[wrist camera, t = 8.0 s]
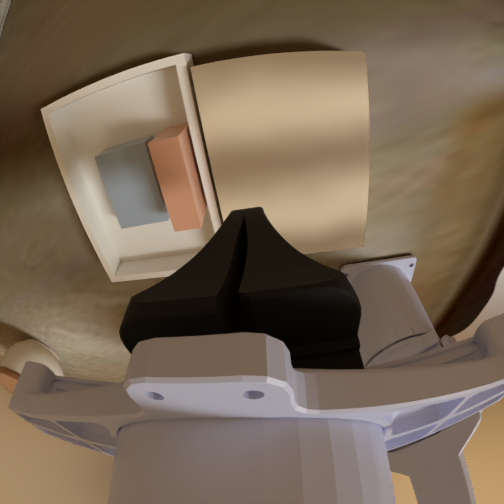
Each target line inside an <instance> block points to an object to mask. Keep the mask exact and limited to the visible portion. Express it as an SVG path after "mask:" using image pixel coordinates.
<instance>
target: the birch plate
mask: <svg viewBox="0 0 504 504" xmlns="http://www.w3.org/2000/svg"><path fill="white" fill-rule="evenodd" d="M190 68H191V73H192V78H193V83H194V88H195V93H196V98H197V103H198V108H199V113H200V117H201V122H202V127H203V132H204V136H205V141H206V146H207V150H208V155H209V160H210V164H211V169H212V173H213V178H214V182H215V187H216V191H217V196H218V200H219V204H220V209H221V213H222V217H223V222H224V221H225V219H226V218H227V216H228V215H229V214H230V212H231V211H232V210H239V209H246V208H253V207H262V208H263V210H264V213H265V215H266V217H267V218H268V220H269V221H270V223H271V224H272V225H273V227H274V228H275V229H276V230H277V232H278V233H279V234H280V235H281V236H282V237H283V238H284V239H285V240H286V241H287V242H288V243H289V244H290V245H292V246H293V247H294V248H295V249H296V250H298V251H299V252H300V253H302V254H311V253H318V252H326V251H334V250H342V249H350V248H357V247H364V242H365V232H366V220H367V205H368V187H369V148H370V137H369V99H368V81H367V68H366V57H365V52H359V51H303V52H286V53H274V54H264V55H256V56H248V57H241V58H234V59H228V60H223V61H217V62H212V63H207V64H202V65H197V66H193V67H190Z"/></svg>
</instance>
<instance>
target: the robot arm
mask: <svg viewBox="0 0 504 504" xmlns="http://www.w3.org/2000/svg"><path fill="white" fill-rule="evenodd" d="M416 260H417V259H416V257H415V256H414V255H410V256H403V257H397V258H390V259H383V260H377V261H370V262H363V263H355V264H348V265H344V266H342V267H341V270H340V271H338V270H335V269H332V268H330V267H327V266H324V265H322V264H320V263H318V262H316V261H314V260H312V259H310V258H308V257H307V256H305V255H304V254H302V253H300V252H299V251H298V250H296V249H295V248H294V247H293V246H292V245H290V244H289V243H288V242H287V241H286V240H285V239H284V238H283V237H282V236H281V235H280V234H279V233H278V232H277V230H276V229H275V228H274V227H273V225H272V224H271V223H270V221H269V220H268V218H267V217H266V215H265V213H264V210H263V208H262V207H253V208H246V209H239V210H232V211H231V212H230V214H229V215H228V216H227V218H226V219H225V221H224V222H223V224H222V225H221V226H220V228H219V229H218V230H217V232H216V233H215V234H214V236H213V237H212V238H211V239H210V240H209V242H208V243H207V244H206V245H205V246H204V247H203V248H202V249H201V250H200V251H199V252H198V253H197V254H196V255H195V256H194V257H193V258H192V259H191V260H190V261H188V262H187V263H186V264H185V265H183V266H182V267H181V268H180V269H178V270H177V271H176V272H174V273H173V274H171V275H170V276H169V277H167V278H166V279H164V280H162V281H161V282H159V283H157V284H156V285H154V286H152V287H150V288H148V289H146V290H144V291H142V292H140V293H139V294H137V295H134V296H132V298H131V300H130V303H129V305H128V307H127V310H126V313H125V316H124V318H123V321H122V324H121V327H120V331H119V333H120V338H121V340H122V342H123V343H124V345H125V347H126V348H127V349H128V351H129V352H130V353H131V354H132V355H131V358H130V362H129V365H128V369H127V373H126V376H125V380H124V382H121V383H114V382H104V381H94V380H85V379H78V378H70V377H64V376H57V375H55V373H54V372H53V371H52V370H51V369H50V368H49V367H47V366H46V365H44V364H42V363H37V362H31V361H26V363H25V365H24V368H23V370H22V372H21V375H20V377H19V379H18V382H17V384H16V387H15V390H14V392H13V395H12V398H11V400H10V403H9V409H11V410H12V411H13V412H15V413H16V414H17V415H19V416H20V417H21V418H23V419H24V420H26V421H27V422H28V423H30V424H32V425H33V426H34V427H36V428H37V429H39V430H41V431H42V432H44V433H45V434H47V435H50V436H53V437H55V438H58V439H61V440H64V441H67V442H70V443H72V444H75V445H78V446H81V447H84V448H87V449H90V450H93V451H96V452H100V453H103V454H106V455H110V456H113V457H114V462H113V468H112V474H111V480H110V488H109V495H108V502H107V504H396V503H395V496H394V489H393V484H392V477H391V471H392V472H396V473H400V474H404V475H407V476H409V477H410V479H411V482H412V485H413V488H414V492H415V495H416V498H417V502H418V504H476V502H475V497H474V493H473V488H472V484H471V480H470V476H469V473H468V469H467V466H466V462H465V458H464V455H463V452H462V450H463V448H464V447H465V446H466V444H467V442H468V441H469V440H470V438H471V436H472V435H473V433H474V432H475V430H476V428H477V427H478V425H479V423H480V421H481V419H482V416H481V413H482V411H483V409H484V408H486V407H488V406H490V405H492V404H494V403H496V402H497V401H499V400H500V399H502V398H503V397H504V314H501V315H499V316H496V317H493V318H491V319H488V320H486V321H484V322H483V323H482V324H481V325H480V326H479V327H478V329H477V330H476V332H475V335H474V337H472V338H468V339H466V340H463V341H460V342H456V340H455V338H454V337H449V336H448V335H445V336H444V337H442V338H441V340H442V342H441V340H440V338H439V337H438V335H437V333H436V332H435V330H434V328H433V325H432V323H431V321H430V319H429V317H428V315H427V313H426V311H425V309H424V307H423V305H422V303H421V302H420V300H419V298H418V296H417V294H416V292H415V290H414V288H413V287H412V285H411V279H412V276H413V272H414V268H415V264H416ZM411 263H412V264H411ZM346 273H347V274H346ZM345 274H346V275H345Z"/></svg>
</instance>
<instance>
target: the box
mask: <svg viewBox="0 0 504 504" xmlns="http://www.w3.org/2000/svg"><path fill="white" fill-rule="evenodd" d="M193 66H194V63H193V58H192V54H187V53H182V54H178V55H174V56H170V57H167V58H163V59H160V60H156V61H153V62H150V63H147V64H143V65H140V66H137V67H134V68H131V69H129V70H126V71H123V72H120V73H118V74H115V75H112V76H110V77H107V78H105V79H102V80H100V81H98V82H95V83H93V84H90V85H88V86H86V87H84V88H82V89H79V90H77V91H75V92H73V93H71V94H69V95H67V96H65V97H63V98H61V99H59V100H57V101H55V102H53V103H51V104H49V105H47V106H46V107H44V108H42V109H41V113H42V116H43V120H44V123H45V127H46V130H47V133H48V137H49V140H50V143H51V146H52V149H53V152H54V155H55V158H56V161H57V163H58V166H59V169H60V172H61V174H62V177H63V179H64V182H65V185H66V187H67V190H68V192H69V194H70V197H71V199H72V202H73V204H74V206H75V209H76V211H77V213H78V216H79V218H80V220H81V222H82V224H83V227H84V229H85V231H86V233H87V235H88V237H89V239H90V241H91V243H92V245H93V247H94V249H95V251H96V253H97V255H98V257H99V259H100V261H101V263H102V265H103V267H104V269H105V271H106V272H107V274H108V276H109V278H110V280H111V282H120V281H130V280H139V279H149V278H158V277H168V276H170V275H171V274H173V273H174V272H176V271H177V270H178V269H180V268H181V267H182V266H183V265H185V264H186V263H187V262H188V261H190V260H191V259H192V258H193V257H194V256H195V255H196V254H197V253H198V252H199V251H200V250H201V249H202V248H203V247H204V246H205V245H206V244H207V243H208V242H209V240H210V239H211V238H212V237H213V236H214V234H215V233H216V232H217V230H218V229H219V228H220V226H221V225H222V224H223V217H222V213H221V209H220V204H219V200H218V196H217V191H216V187H215V182H214V178H213V173H212V169H211V164H210V160H209V155H208V150H207V146H206V141H205V136H204V132H203V127H202V122H201V117H200V113H199V108H198V103H197V98H196V93H195V88H194V83H193V78H192V73H191V68H190V67H193ZM184 123H188V124H189V129H190V133H191V138H192V142H193V146H194V151H195V155H196V159H197V163H198V168H199V172H200V176H201V180H202V184H203V188H204V192H205V197H206V201H207V208H206V211H205V215H204V219H203V223H202V227H201V228H197V229H190V230H183V231H177V232H175V231H174V228H173V225H172V222H171V219H170V218H169V220H168V221H163V222H157V223H151V224H145V225H140V226H134V227H129V228H123V229H121V227H120V224H119V222H118V219H117V217H116V214H115V212H114V210H113V207H112V204H111V202H110V199H109V197H108V194H107V191H106V189H105V186H104V183H103V181H102V178H101V175H100V172H99V169H98V167H97V164H96V161H95V158H94V157H95V156H97V155H98V154H99V153H100V152H102V151H103V150H104V149H107V148H110V147H113V146H116V145H120V144H123V143H126V142H130V141H133V140H137V139H140V138H144V137H148V136H152V135H153V138H155V137H156V136H157V135H158V134H159V133H160V132H162V131H163V130H164V129H165V128H167V127H171V126H176V125H180V124H184Z"/></svg>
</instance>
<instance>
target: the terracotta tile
mask: <svg viewBox="0 0 504 504" xmlns="http://www.w3.org/2000/svg"><path fill="white" fill-rule="evenodd" d="M148 146H149V150H150V153H151V157H152V160H153V164H154V167H155V171H156V174H157V178H158V181H159V184H160V188H161V191H162V194H163V197H164V201H165V204H166V207H167V210H168V213H169V216H170V219H171V222H172V225H173V228H174V231H175V232H177V231H183V230H190V229H197V228H201V227H202V223H203V219H204V215H205V211H206V208H207V201H206V197H205V192H204V188H203V184H202V180H201V176H200V172H199V168H198V163H197V159H196V155H195V151H194V146H193V142H192V138H191V133H190V129H189V124H188V123H184V124H180V125H176V126H171V127H167V128H165V129H164V130H163V131H162V132H160V133H159V134H158V135H157V136H156V137H155V138H153V139H152V140H151V141H150V142H149V143H148Z"/></svg>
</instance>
